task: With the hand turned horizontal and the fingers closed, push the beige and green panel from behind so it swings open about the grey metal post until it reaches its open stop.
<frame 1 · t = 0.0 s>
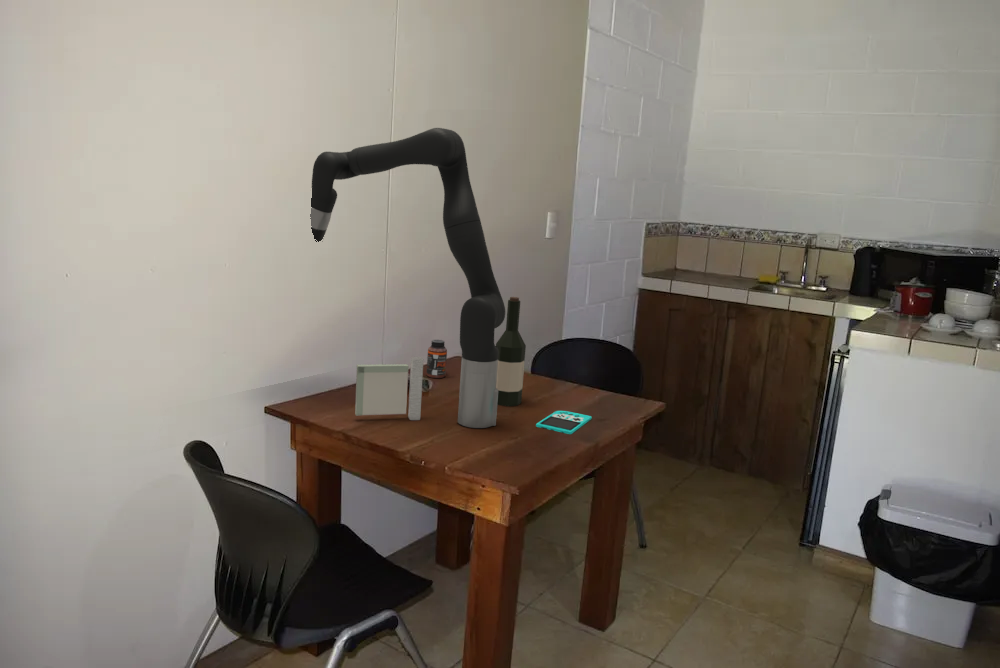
hand: (294, 276, 213), 31 cm above the table, tool tilted 20°, fingers open, 8 cm apart
supplement bottle: (435, 376, 241), on the table
handheld game console: (564, 425, 205), on the table
gate post: (414, 418, 200), on the table
wine bottle: (506, 402, 220), on the table
beige and green panel: (381, 389, 195), point 8 cm above the table, hinge at 0.0°
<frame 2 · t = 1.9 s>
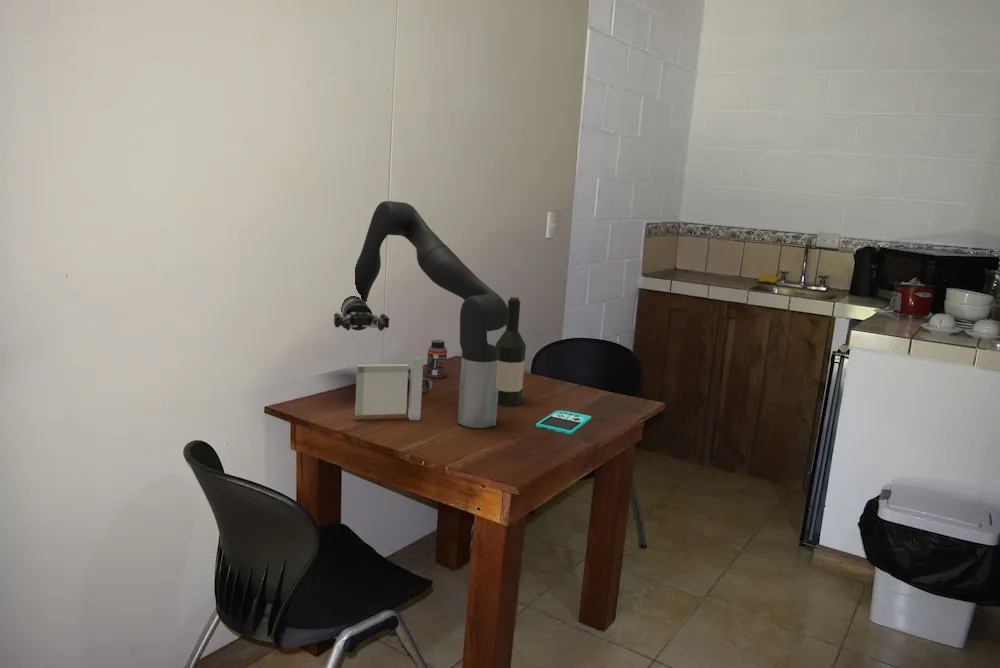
hand: (365, 326, 200), 22 cm above the table, tool horizontal, fingers open, 8 cm apart
nothing on the table moved.
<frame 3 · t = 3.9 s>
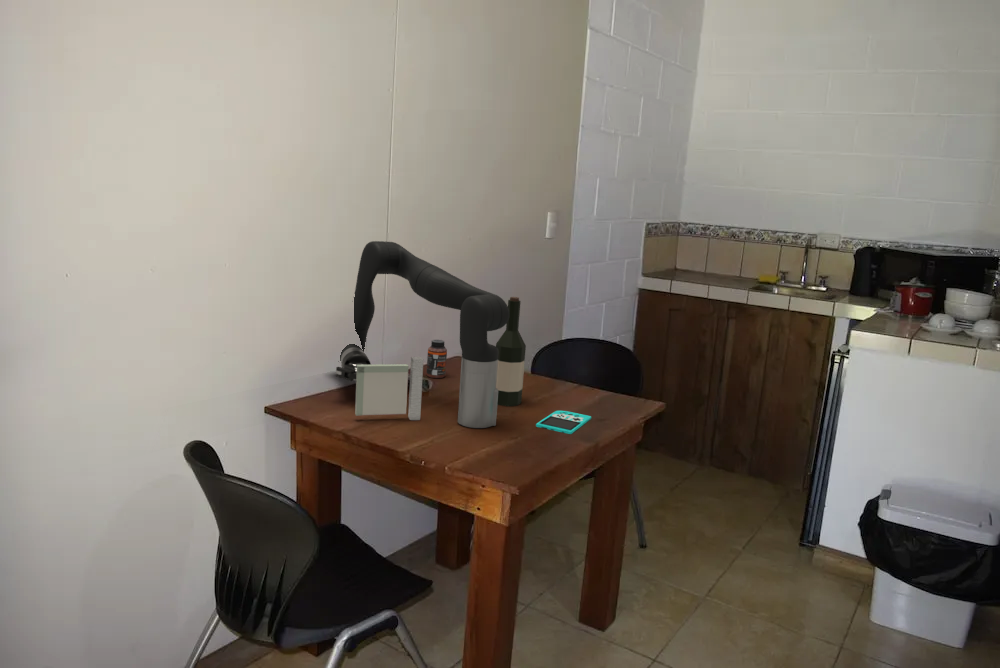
hand: (363, 380, 201), 8 cm above the table, tool horizontal, fingers closed
nothing on the table moved.
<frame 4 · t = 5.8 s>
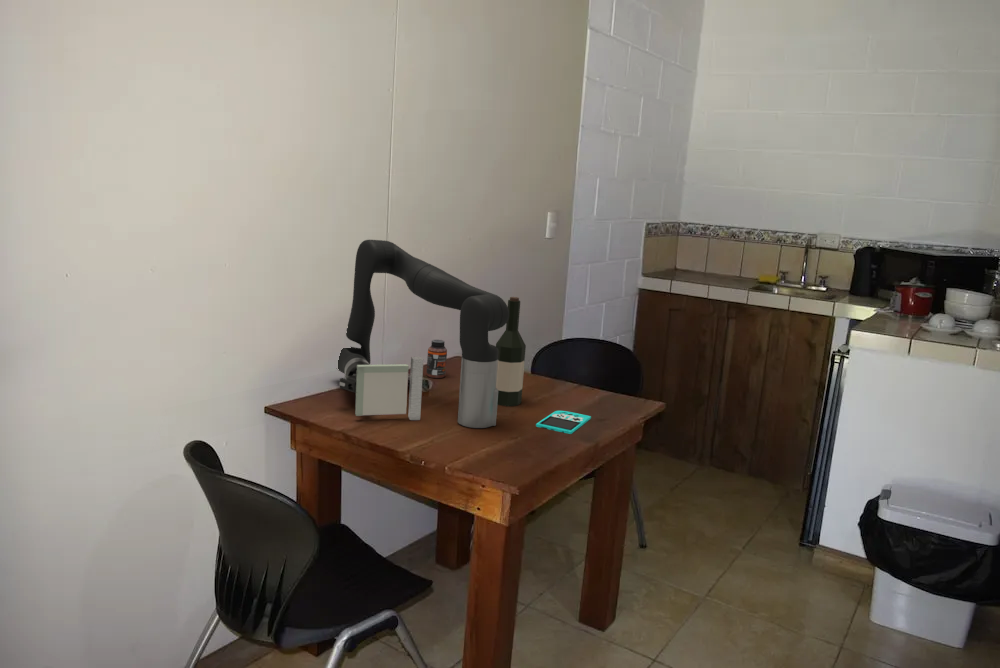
hand: (368, 392, 195), 7 cm above the table, tool horizontal, fingers closed
beige and green panel: (381, 389, 195), point 8 cm above the table, hinge at 1.0°, touching gripper
everything else where it was.
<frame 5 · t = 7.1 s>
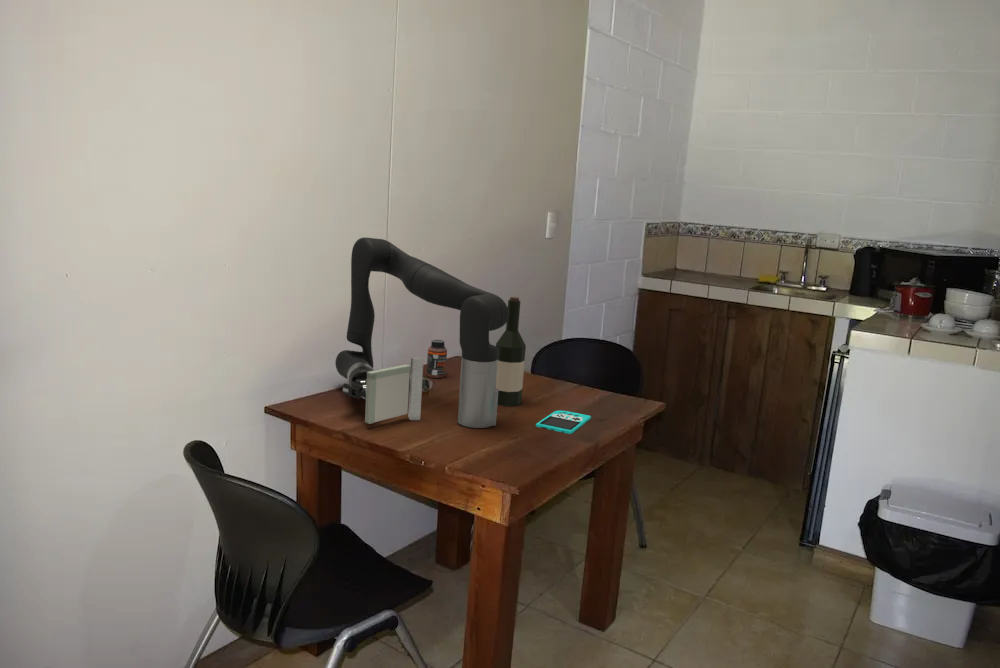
hand: (372, 399, 190), 7 cm above the table, tool horizontal, fingers closed
beige and green panel: (388, 393, 192), point 8 cm above the table, hinge at 31.6°, touching gripper
everything else where it was.
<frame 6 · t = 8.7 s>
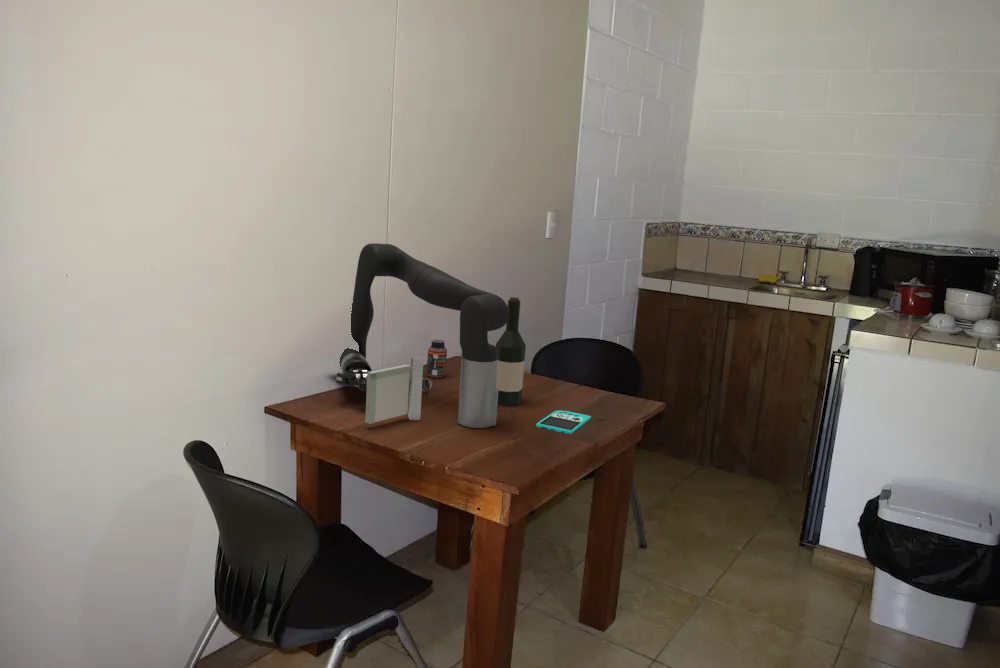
hand: (364, 387, 199), 7 cm above the table, tool horizontal, fingers closed
beige and green panel: (388, 393, 192), point 8 cm above the table, hinge at 32.3°
everything else where it was.
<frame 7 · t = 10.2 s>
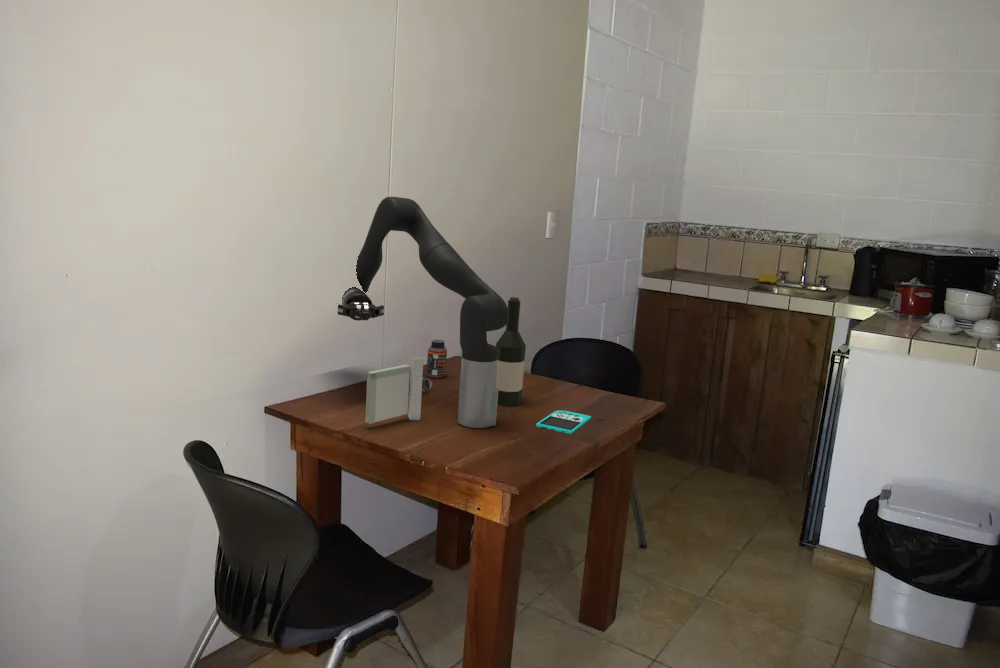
hand: (365, 316, 199), 25 cm above the table, tool horizontal, fingers closed
nothing on the table moved.
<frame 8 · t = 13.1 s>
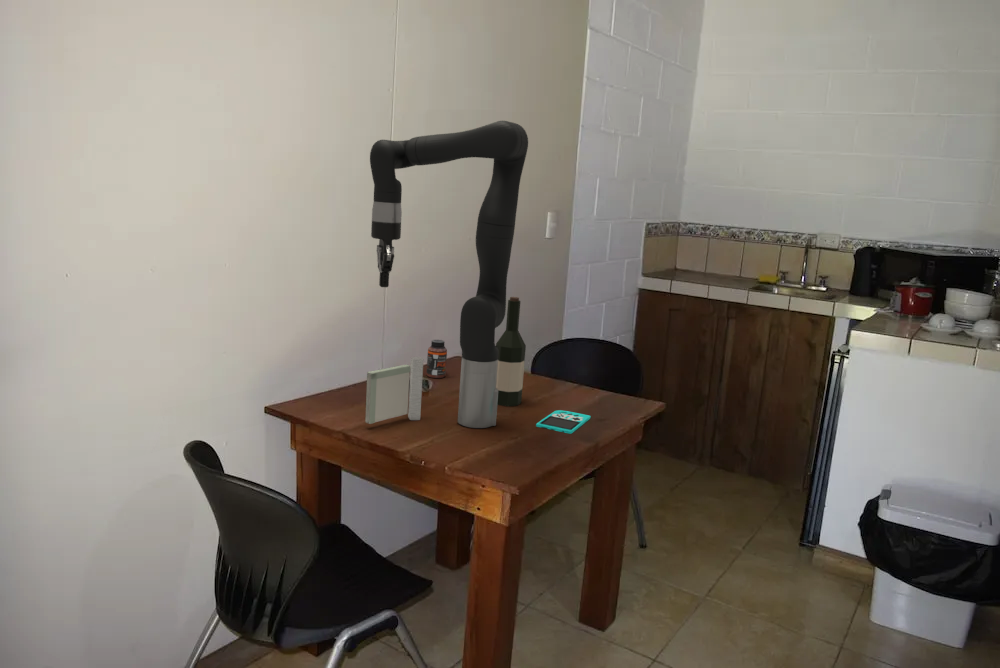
hand: (383, 286, 203), 32 cm above the table, tool pointing down, fingers closed
nothing on the table moved.
at the end: beige and green panel at +32° (first picture: +0°) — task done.
